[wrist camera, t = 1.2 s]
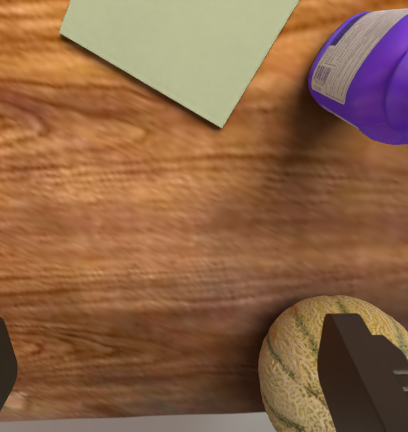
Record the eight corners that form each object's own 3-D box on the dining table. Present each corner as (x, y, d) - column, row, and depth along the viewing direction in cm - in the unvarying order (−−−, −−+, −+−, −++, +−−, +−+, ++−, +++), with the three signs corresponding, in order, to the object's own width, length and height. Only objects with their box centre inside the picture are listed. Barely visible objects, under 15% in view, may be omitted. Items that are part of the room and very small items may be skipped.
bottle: (342, 124, 31) (492, 216, 16) (289, 86, 30) (396, 146, 14) (405, 44, 29) (662, 58, 13) (350, -2, 27) (567, -49, 11)
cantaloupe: (297, 387, 45) (342, 537, 32) (220, 318, 40) (233, 463, 27) (406, 324, 41) (510, 465, 28) (335, 239, 36) (421, 361, 23)
